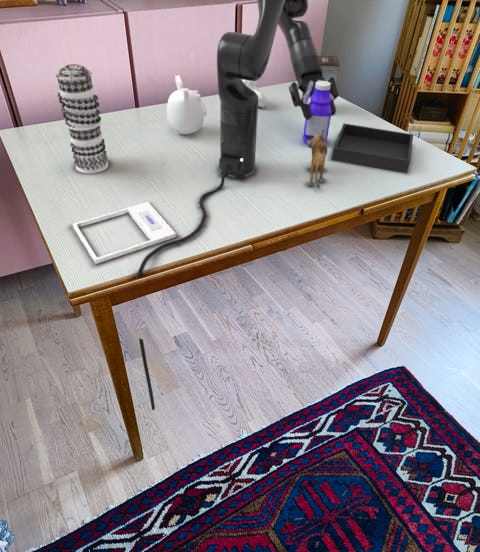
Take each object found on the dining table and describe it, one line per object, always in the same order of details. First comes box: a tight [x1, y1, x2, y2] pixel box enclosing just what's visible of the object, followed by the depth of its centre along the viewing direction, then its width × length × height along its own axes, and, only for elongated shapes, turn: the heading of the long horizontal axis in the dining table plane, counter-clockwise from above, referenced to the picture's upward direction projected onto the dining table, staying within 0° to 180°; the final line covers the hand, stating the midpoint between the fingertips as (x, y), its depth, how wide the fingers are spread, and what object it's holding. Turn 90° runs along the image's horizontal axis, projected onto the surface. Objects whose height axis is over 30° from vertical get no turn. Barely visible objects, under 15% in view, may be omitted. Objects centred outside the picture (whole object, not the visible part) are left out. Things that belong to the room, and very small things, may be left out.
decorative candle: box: [55, 63, 109, 174], centre depth 115 cm, size 9×9×25 cm
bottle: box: [302, 81, 332, 145], centre depth 132 cm, size 7×6×17 cm
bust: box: [242, 79, 267, 108], centre depth 155 cm, size 12×8×11 cm
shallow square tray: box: [331, 122, 414, 174], centre depth 133 cm, size 18×21×4 cm
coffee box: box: [318, 54, 341, 85], centre depth 151 cm, size 9×6×16 cm
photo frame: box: [71, 201, 177, 265], centre depth 101 cm, size 15×1×18 cm
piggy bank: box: [166, 74, 207, 135], centre depth 136 cm, size 12×12×15 cm
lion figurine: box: [306, 134, 328, 189], centre depth 120 cm, size 15×5×9 cm, turn 0°
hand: (321, 116), depth 131 cm, fingers closed on bottle, 7 cm apart
